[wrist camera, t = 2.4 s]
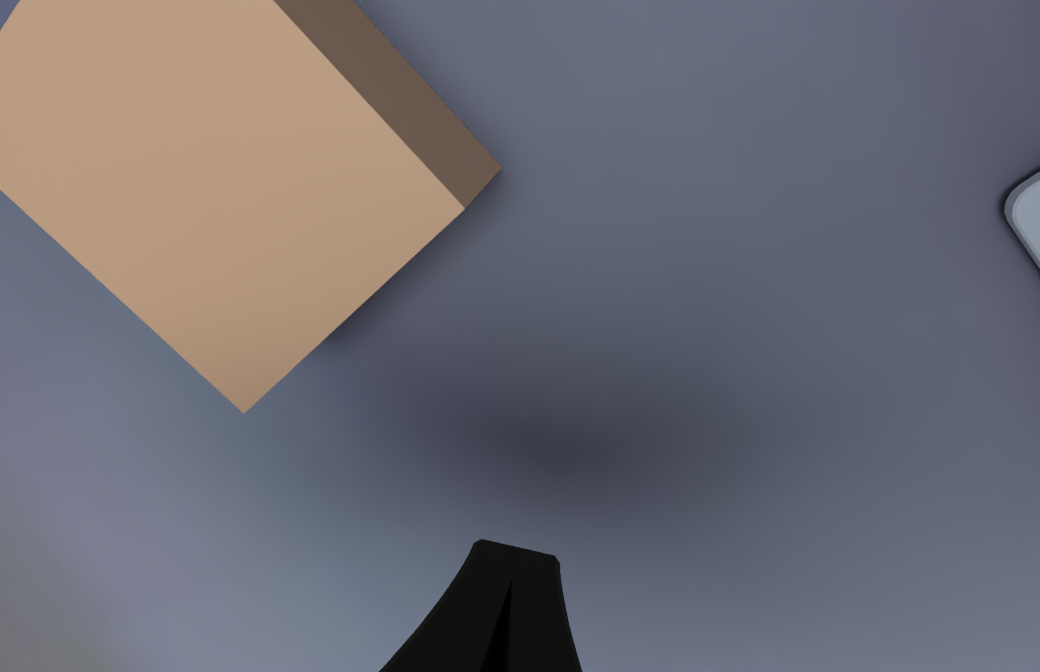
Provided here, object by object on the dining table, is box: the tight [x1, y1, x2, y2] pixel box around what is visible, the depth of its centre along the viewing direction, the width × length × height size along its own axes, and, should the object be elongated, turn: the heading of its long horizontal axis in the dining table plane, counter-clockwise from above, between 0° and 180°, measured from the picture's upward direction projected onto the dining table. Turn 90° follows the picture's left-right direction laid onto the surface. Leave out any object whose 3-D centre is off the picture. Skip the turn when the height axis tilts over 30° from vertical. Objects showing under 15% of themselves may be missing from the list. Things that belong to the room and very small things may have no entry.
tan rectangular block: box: [0, 0, 502, 413], centre depth 14 cm, size 7×6×4 cm
